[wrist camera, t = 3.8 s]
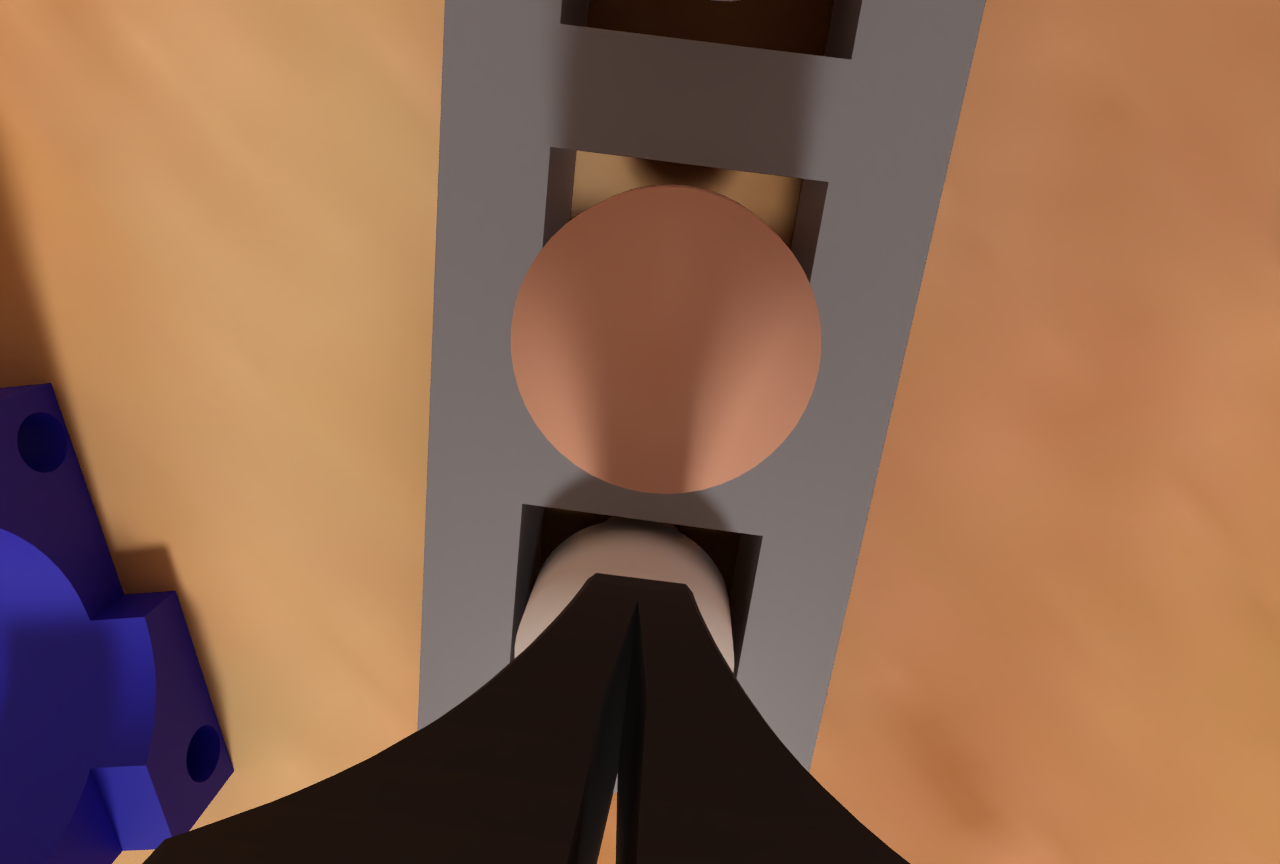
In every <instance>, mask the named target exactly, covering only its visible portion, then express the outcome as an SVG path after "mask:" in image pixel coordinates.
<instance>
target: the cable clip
mask: <svg viewBox="0 0 1280 864" xmlns="http://www.w3.org/2000/svg"><path fill="white" fill-rule="evenodd" d="M233 772H234V769H233V766H232V763H231V760H230V757H229V754H228V751H227V748H226V745H225V742H224V738H223V735H222V732H221V729H220V726H219V723H218V720H217V717H216V714H215V711H214V708H213V704H212V701H211V698H210V695H209V692H208V689H207V686H206V683H205V680H204V677H203V673H202V670H201V667H200V664H199V661H198V658H197V655H196V652H195V649H194V646H193V643H192V639H191V636H190V633H189V630H188V627H187V624H186V621H185V618H184V615H183V612H182V609H181V605H180V602H179V599H178V596H177V593H176V591H166V592H152V593H138V594H125V595H124V593H123V590H122V587H121V584H120V581H119V578H118V575H117V572H116V569H115V567H114V564H113V561H112V558H111V555H110V552H109V549H108V546H107V543H106V541H105V538H104V535H103V532H102V529H101V526H100V523H99V520H98V517H97V515H96V512H95V509H94V506H93V503H92V500H91V497H90V494H89V491H88V489H87V486H86V483H85V480H84V477H83V474H82V471H81V468H80V465H79V463H78V460H77V457H76V454H75V451H74V448H73V445H72V442H71V439H70V437H69V434H68V431H67V428H66V425H65V422H64V419H63V416H62V413H61V410H60V408H59V405H58V402H57V399H56V396H55V393H54V390H53V387H52V384H51V383H48V384H38V385H27V386H17V387H7V388H0V864H112V863H113V861H114V860H115V859H116V858H117V857H118V855H119V854H120V853H121V852H122V851H126V850H149V849H156V848H157V847H158V846H159V845H160V844H161V843H162V842H163V841H164V840H165V839H167V838H170V837H173V836H176V835H180V834H183V833H186V832H189V830H190V829H191V828H192V826H193V825H194V824H195V822H196V821H197V820H198V818H199V817H200V816H201V814H202V813H203V812H204V810H205V809H206V808H207V806H208V805H209V804H210V802H211V801H212V800H213V798H214V797H215V796H216V794H217V793H218V792H219V790H220V789H221V788H222V786H223V785H224V784H225V782H226V781H227V780H228V778H229V777H230V776H231V774H232V773H233Z"/></svg>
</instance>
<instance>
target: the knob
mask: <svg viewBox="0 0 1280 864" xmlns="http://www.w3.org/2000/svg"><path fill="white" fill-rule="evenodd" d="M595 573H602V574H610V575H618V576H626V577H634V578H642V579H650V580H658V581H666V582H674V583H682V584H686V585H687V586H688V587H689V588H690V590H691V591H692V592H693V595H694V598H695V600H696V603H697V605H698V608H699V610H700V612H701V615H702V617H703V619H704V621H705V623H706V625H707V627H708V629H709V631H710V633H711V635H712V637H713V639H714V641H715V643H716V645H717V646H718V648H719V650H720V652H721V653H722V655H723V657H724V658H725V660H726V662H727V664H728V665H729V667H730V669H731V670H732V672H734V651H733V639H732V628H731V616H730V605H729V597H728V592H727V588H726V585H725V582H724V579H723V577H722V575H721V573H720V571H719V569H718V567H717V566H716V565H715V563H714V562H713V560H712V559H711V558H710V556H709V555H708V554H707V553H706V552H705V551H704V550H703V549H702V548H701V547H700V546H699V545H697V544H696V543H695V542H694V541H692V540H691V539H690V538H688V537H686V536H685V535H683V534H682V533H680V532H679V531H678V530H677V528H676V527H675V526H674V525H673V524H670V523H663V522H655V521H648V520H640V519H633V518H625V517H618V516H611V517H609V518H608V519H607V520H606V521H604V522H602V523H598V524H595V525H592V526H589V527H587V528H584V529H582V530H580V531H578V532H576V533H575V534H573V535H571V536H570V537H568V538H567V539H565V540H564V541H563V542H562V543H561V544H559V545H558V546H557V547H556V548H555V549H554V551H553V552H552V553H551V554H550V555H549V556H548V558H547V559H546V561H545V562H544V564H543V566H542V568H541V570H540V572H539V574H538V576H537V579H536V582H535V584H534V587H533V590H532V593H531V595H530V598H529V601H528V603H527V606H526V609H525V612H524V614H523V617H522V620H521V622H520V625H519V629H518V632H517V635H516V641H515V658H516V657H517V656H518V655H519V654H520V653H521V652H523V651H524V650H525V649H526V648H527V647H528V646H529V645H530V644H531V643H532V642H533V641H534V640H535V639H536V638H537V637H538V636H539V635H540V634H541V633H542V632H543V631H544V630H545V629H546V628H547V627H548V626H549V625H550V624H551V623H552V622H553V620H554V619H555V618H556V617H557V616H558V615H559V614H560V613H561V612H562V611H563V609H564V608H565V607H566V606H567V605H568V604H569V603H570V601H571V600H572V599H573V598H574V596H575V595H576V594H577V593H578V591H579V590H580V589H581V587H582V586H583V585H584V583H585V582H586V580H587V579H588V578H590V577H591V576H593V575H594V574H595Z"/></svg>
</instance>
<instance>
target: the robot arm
mask: <svg viewBox="0 0 1280 864" xmlns="http://www.w3.org/2000/svg"><path fill="white" fill-rule="evenodd" d="M617 774H618V780H617V831H616V864H910V863H909V862H907V861H906V860H905V859H903V858H902V857H901V856H900V855H898V854H897V853H896V852H895V851H893V850H892V849H891V848H890V847H888V846H887V845H886V844H885V843H884V842H883V841H881V840H880V839H879V838H878V837H877V836H876V835H874V834H873V833H872V832H871V831H870V830H868V829H867V828H866V827H865V826H864V825H863V824H862V823H860V822H859V821H858V820H857V819H856V818H855V817H854V816H853V815H852V814H851V813H850V812H849V811H848V810H847V809H846V808H844V807H843V806H842V805H841V804H840V803H839V802H838V801H837V800H836V799H835V798H834V797H833V796H832V795H831V794H830V793H829V792H828V791H827V790H825V789H824V788H823V787H822V786H821V785H820V784H819V783H818V781H817V780H816V779H815V778H814V777H813V776H812V775H811V774H810V773H809V772H808V771H807V770H806V769H805V768H804V767H803V766H802V765H801V764H800V762H799V761H798V760H797V759H796V758H795V757H794V756H793V754H792V753H791V752H790V751H789V750H788V749H787V747H786V746H785V745H784V744H783V743H782V742H781V740H780V739H779V738H778V737H777V735H776V734H775V733H774V731H773V730H772V729H771V728H770V726H769V725H768V724H767V722H766V721H765V720H764V718H763V717H762V715H761V714H760V713H759V711H758V710H757V708H756V707H755V705H754V704H753V703H752V701H751V700H750V698H749V697H748V696H747V694H746V693H745V691H744V689H743V688H742V686H741V685H740V683H739V682H738V680H737V679H736V677H735V675H734V674H733V672H732V670H731V669H730V667H729V665H728V664H727V662H726V660H725V658H724V657H723V655H722V653H721V652H720V650H719V648H718V646H717V645H716V643H715V641H714V639H713V637H712V635H711V633H710V631H709V629H708V627H707V625H706V623H705V621H704V619H703V617H702V615H701V612H700V610H699V608H698V605H697V603H696V600H695V598H694V595H693V592H692V591H691V590H690V588H689V587H688V586H687V585H686V584H682V583H674V582H666V581H658V580H650V579H642V578H634V577H626V576H618V575H610V574H602V573H595V574H594V575H593V576H591V577H590V578H588V579H587V580H586V582H585V583H584V585H583V586H582V587H581V589H580V590H579V591H578V593H577V594H576V595H575V596H574V598H573V599H572V600H571V601H570V603H569V604H568V605H567V606H566V607H565V608H564V609H563V611H562V612H561V613H560V614H559V615H558V616H557V617H556V618H555V619H554V620H553V622H552V623H551V624H550V625H549V626H548V627H547V628H546V629H545V630H544V631H543V632H542V633H541V634H540V635H539V636H538V637H537V638H536V639H535V640H534V641H533V642H532V643H531V644H530V645H529V646H528V647H527V648H526V649H525V650H524V651H523V652H521V653H520V654H519V655H518V656H517V657H516V658H515V659H514V660H512V661H511V662H510V663H509V664H508V665H507V666H506V667H504V668H503V669H502V670H501V671H500V672H499V673H498V674H497V675H495V676H494V677H493V678H492V679H491V680H490V681H488V682H487V683H486V684H485V685H483V686H482V687H481V688H479V689H478V690H477V691H476V692H474V693H473V694H472V695H470V696H469V697H468V698H466V699H465V700H464V701H462V702H461V703H460V704H458V705H457V706H455V707H454V708H453V709H451V710H450V711H448V712H447V713H445V714H444V715H443V716H441V717H440V718H438V719H437V720H435V721H434V722H432V723H431V724H429V725H427V726H426V727H424V728H422V729H420V730H419V731H417V732H415V733H413V734H412V735H410V736H408V737H406V738H405V739H403V740H401V741H399V742H398V743H396V744H394V745H392V746H391V747H389V748H387V749H385V750H384V751H382V752H380V753H378V754H377V755H375V756H373V757H371V758H369V759H367V760H365V761H363V762H361V763H359V764H357V765H355V766H353V767H350V768H348V769H346V770H344V771H342V772H340V773H338V774H336V775H334V776H332V777H329V778H327V779H325V780H323V781H320V782H318V783H316V784H313V785H311V786H309V787H307V788H304V789H302V790H300V791H297V792H295V793H293V794H290V795H288V796H285V797H283V798H280V799H278V800H275V801H273V802H270V803H268V804H265V805H262V806H259V807H256V808H254V809H251V810H248V811H245V812H242V813H240V814H237V815H234V816H231V817H228V818H226V819H223V820H220V821H217V822H214V823H212V824H209V825H206V826H203V827H200V828H197V829H195V830H192V831H189V832H186V833H183V834H180V835H176V836H173V837H170V838H167V839H165V840H164V841H163V842H162V843H161V844H160V845H159V846H158V847H157V848H156V849H155V851H154V852H153V853H152V854H151V855H150V856H149V857H148V858H147V859H146V860H145V861H144V862H143V864H597V860H598V856H599V852H600V847H601V843H602V839H603V834H604V830H605V826H606V822H607V817H608V813H609V809H610V804H611V800H612V796H613V791H614V787H615V783H616V778H617Z"/></svg>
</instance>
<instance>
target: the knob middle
mask: <svg viewBox="0 0 1280 864" xmlns="http://www.w3.org/2000/svg"><path fill="white" fill-rule="evenodd" d="M511 356H512V364H513V371H514V374H515V378H516V382H517V386H518V389H519V392H520V394H521V397H522V399H523V401H524V404H525V406H526V408H527V410H528V412H529V413H530V415H531V417H532V419H533V421H534V422H535V424H536V425H537V427H538V428H539V429H540V431H541V432H542V433H543V435H544V436H545V437H546V439H547V440H548V441H549V442H550V443H551V444H552V445H553V446H554V447H555V448H556V449H557V450H558V451H559V452H560V453H561V454H562V455H563V456H565V457H566V458H567V459H568V460H570V461H571V462H572V463H573V464H575V465H576V466H578V467H579V468H581V469H583V470H584V471H586V472H587V473H589V474H591V475H592V476H595V477H597V478H599V479H601V480H603V481H605V482H608V483H610V484H613V485H616V486H619V487H622V488H626V489H630V490H635V491H640V492H645V493H658V494H674V493H687V492H693V491H698V490H704V489H707V488H710V487H714V486H717V485H720V484H723V483H725V482H727V481H730V480H732V479H734V478H736V477H739V476H740V475H742V474H744V473H745V472H747V471H749V470H750V469H752V468H754V467H755V466H757V465H758V464H759V463H761V462H762V461H763V460H764V459H766V458H767V457H768V456H769V455H771V454H772V453H773V452H774V451H775V450H776V449H777V448H778V447H779V446H780V445H781V444H782V443H783V442H784V441H785V439H786V438H787V437H788V435H789V434H790V433H791V431H792V430H793V429H794V427H795V426H796V425H797V423H798V421H799V420H800V418H801V416H802V414H803V413H804V411H805V409H806V407H807V405H808V402H809V400H810V398H811V395H812V393H813V390H814V387H815V383H816V379H817V376H818V372H819V365H820V357H821V325H820V318H819V312H818V307H817V304H816V300H815V297H814V293H813V290H812V288H811V286H810V283H809V281H808V279H807V276H806V274H805V272H804V270H803V269H802V267H801V265H800V264H799V262H798V260H797V259H796V257H795V256H794V254H793V253H792V251H791V250H790V249H789V248H788V247H787V245H786V244H785V243H784V242H783V241H782V239H781V238H780V237H779V236H778V235H777V234H776V233H775V232H774V231H772V230H771V229H770V228H769V227H768V226H767V225H766V224H765V223H764V222H763V221H761V220H760V219H759V218H758V217H757V216H756V215H754V214H753V213H752V212H750V211H749V210H748V209H746V208H745V207H743V206H742V205H740V204H739V203H737V202H735V201H733V200H731V199H729V198H727V197H725V196H723V195H721V194H718V193H715V192H712V191H710V190H707V189H703V188H698V187H693V186H688V185H675V184H662V185H650V186H645V187H640V188H636V189H631V190H629V191H626V192H623V193H621V194H618V195H615V196H613V197H611V198H609V199H606V200H604V201H602V202H600V203H598V204H596V205H595V206H593V207H591V208H589V209H587V210H585V211H583V212H582V213H580V214H579V215H577V216H576V217H575V218H573V219H572V220H571V221H569V222H568V223H566V224H565V225H564V226H563V227H562V228H561V229H560V230H559V231H558V232H557V233H556V234H555V235H554V236H552V237H551V238H550V240H549V241H548V242H547V243H546V245H545V246H544V247H543V248H542V250H541V251H540V252H539V253H538V255H537V256H536V258H535V259H534V261H533V263H532V265H531V266H530V268H529V270H528V271H527V273H526V275H525V278H524V280H523V282H522V285H521V287H520V289H519V292H518V296H517V299H516V303H515V307H514V310H513V317H512V325H511Z"/></svg>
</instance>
